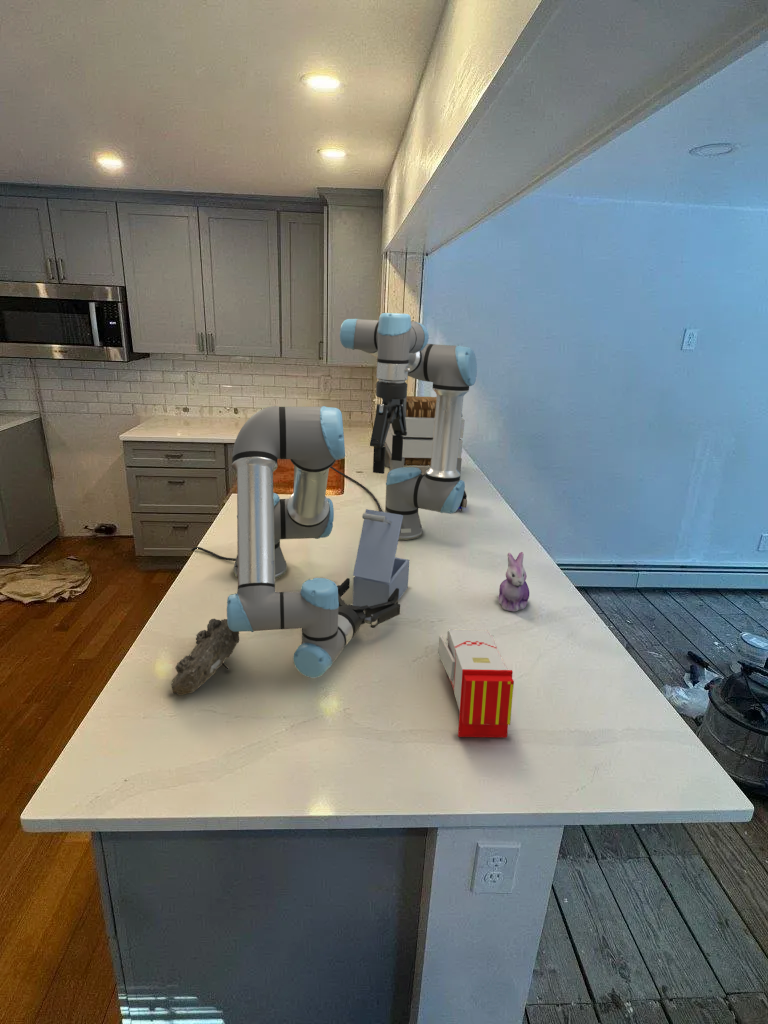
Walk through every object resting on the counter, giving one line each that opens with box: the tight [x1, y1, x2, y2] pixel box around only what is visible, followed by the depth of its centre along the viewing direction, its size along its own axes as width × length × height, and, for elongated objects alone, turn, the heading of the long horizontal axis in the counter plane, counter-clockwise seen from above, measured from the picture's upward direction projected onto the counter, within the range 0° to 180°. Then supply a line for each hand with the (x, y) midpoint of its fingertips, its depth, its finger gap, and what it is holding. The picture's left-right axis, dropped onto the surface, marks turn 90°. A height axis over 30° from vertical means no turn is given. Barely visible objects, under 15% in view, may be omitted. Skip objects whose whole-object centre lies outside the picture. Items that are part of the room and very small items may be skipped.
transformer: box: [384, 395, 465, 475], centre depth 268 cm, size 34×33×41 cm
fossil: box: [171, 618, 240, 696], centre depth 121 cm, size 22×10×15 cm
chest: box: [352, 556, 410, 607], centre depth 154 cm, size 17×10×9 cm, turn 160°
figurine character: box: [457, 490, 468, 512], centre depth 228 cm, size 7×8×15 cm
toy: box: [437, 628, 515, 738], centre depth 117 cm, size 12×13×30 cm
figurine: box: [497, 551, 530, 612], centre depth 152 cm, size 9×10×15 cm
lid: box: [352, 508, 403, 583], centre depth 142 cm, size 18×10×9 cm
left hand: (372, 587), depth 147 cm, fingers open, 13 cm apart
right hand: (387, 466), depth 143 cm, fingers open, 13 cm apart
